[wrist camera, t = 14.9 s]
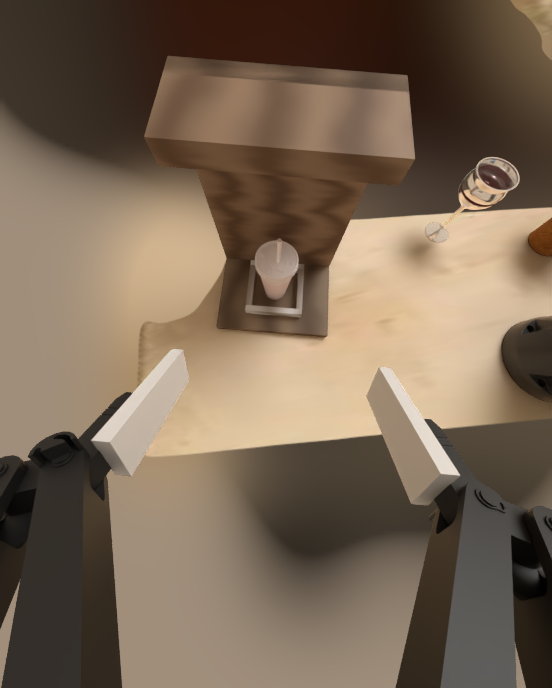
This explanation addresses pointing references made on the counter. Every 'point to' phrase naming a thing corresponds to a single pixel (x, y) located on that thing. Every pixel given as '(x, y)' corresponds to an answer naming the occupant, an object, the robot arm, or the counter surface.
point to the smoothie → (276, 266)
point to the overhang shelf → (280, 168)
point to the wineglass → (479, 191)
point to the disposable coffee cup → (542, 239)
